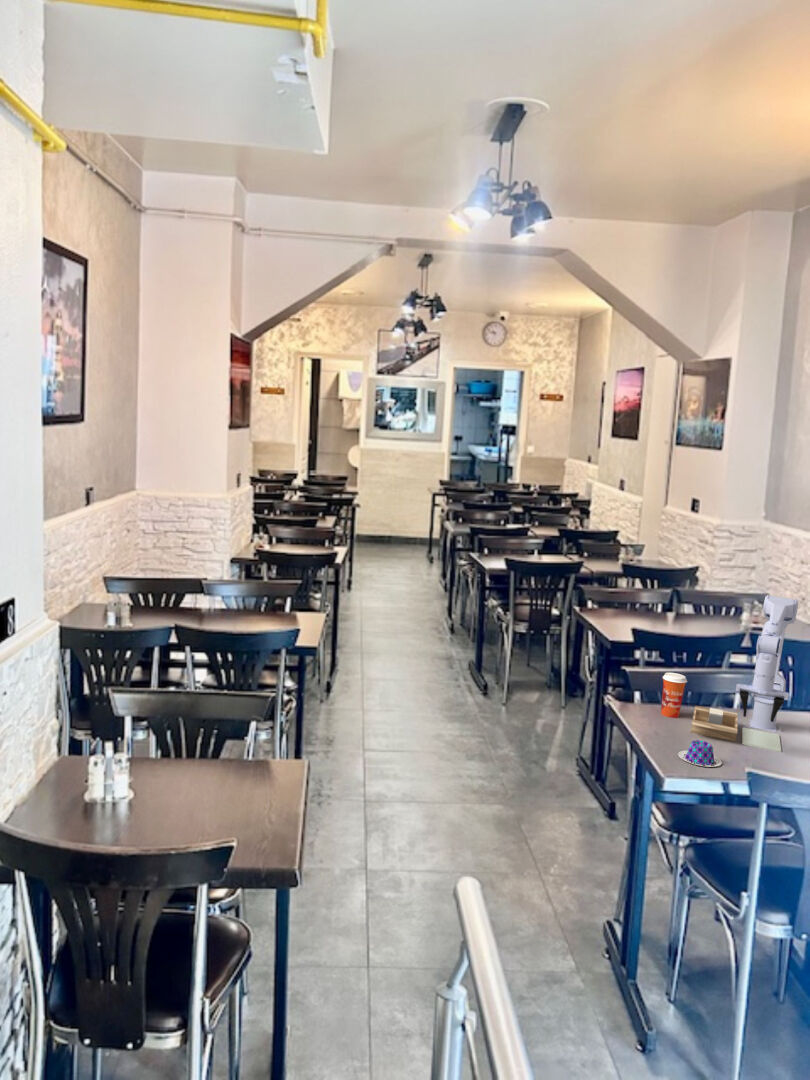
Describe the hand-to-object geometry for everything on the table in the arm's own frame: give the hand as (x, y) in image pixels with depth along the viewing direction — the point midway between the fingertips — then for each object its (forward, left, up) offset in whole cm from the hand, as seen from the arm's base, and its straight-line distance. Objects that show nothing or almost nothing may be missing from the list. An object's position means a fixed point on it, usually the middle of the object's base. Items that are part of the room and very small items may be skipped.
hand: (758, 718), depth 261 cm
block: (-9, -12, -9) cm, 18 cm away
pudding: (+20, -15, -10) cm, 27 cm away
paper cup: (-17, -26, -10) cm, 33 cm away
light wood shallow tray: (-9, -12, -10) cm, 18 cm away
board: (-9, +2, -10) cm, 14 cm away
